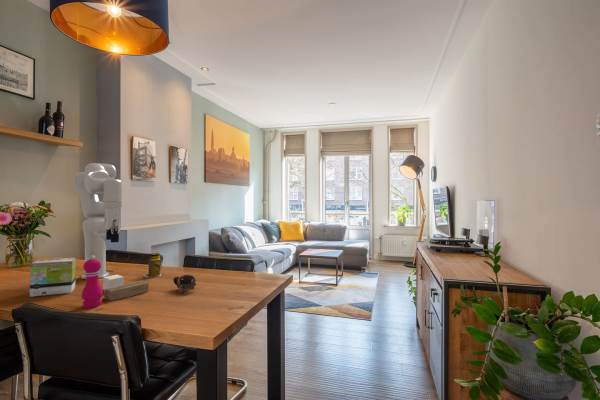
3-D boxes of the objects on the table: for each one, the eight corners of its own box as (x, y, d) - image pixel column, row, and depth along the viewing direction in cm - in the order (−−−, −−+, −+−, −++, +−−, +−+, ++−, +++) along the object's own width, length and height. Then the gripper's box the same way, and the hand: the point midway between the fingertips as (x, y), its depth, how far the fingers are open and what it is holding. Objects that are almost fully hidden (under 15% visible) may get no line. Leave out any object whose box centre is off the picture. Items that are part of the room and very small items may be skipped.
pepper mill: (88, 302, 129) (88, 253, 129) (106, 302, 130) (106, 253, 129) (77, 308, 122) (77, 257, 121) (96, 308, 122) (96, 257, 122)
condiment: (162, 275, 173) (162, 254, 173) (145, 277, 168) (145, 255, 168) (159, 273, 179) (159, 252, 179) (143, 275, 174) (143, 253, 174)
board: (104, 298, 135) (104, 288, 134) (141, 289, 147) (141, 280, 147) (110, 300, 131) (110, 291, 131) (148, 291, 144) (148, 282, 144)
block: (103, 290, 146) (103, 277, 146) (116, 287, 151) (116, 274, 151) (110, 292, 142) (110, 279, 142) (123, 289, 147) (123, 276, 147)
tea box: (29, 297, 134) (29, 263, 134) (35, 291, 143) (35, 259, 143) (72, 293, 141) (72, 260, 141) (76, 287, 150) (75, 256, 150)
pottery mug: (200, 288, 151) (200, 275, 147) (189, 302, 143) (188, 289, 139) (179, 280, 153) (178, 268, 149) (166, 294, 145) (165, 281, 141)
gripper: (99, 204, 154) (99, 239, 154) (107, 206, 141) (107, 244, 141) (117, 204, 159) (116, 238, 159) (126, 205, 146) (125, 242, 146)
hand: (112, 240), depth 150 cm, fingers open, 9 cm apart
